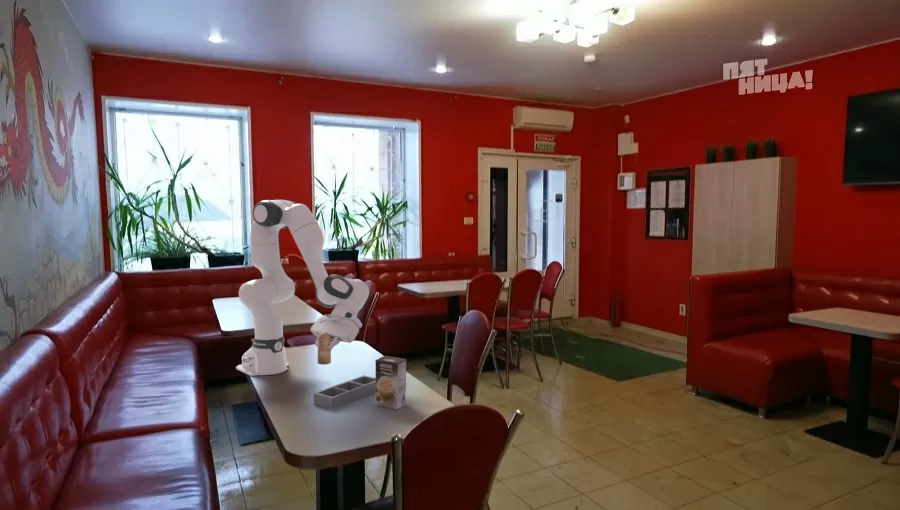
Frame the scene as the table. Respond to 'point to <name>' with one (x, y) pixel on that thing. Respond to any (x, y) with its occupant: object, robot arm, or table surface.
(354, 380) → the grey compartment tray
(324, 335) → the tan domed cylinder
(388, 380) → the coffee box
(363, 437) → the table surface
